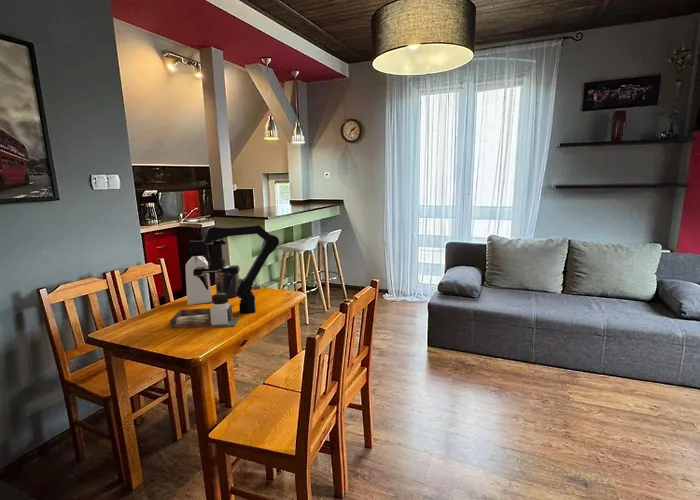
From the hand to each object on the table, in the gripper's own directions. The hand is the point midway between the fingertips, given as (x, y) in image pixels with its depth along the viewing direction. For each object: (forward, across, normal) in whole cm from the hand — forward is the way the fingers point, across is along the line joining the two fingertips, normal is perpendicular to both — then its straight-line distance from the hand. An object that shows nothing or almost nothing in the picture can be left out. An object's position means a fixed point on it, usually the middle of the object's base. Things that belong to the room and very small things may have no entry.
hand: (218, 289), depth 166 cm
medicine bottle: (+12, -3, +11) cm, 16 cm away
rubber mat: (+12, -4, +11) cm, 17 cm away
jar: (+12, +2, -32) cm, 34 cm away
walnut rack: (+12, +9, +5) cm, 16 cm away
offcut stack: (+12, +9, +10) cm, 19 cm away
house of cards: (+13, -11, -44) cm, 47 cm away
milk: (+12, +15, -25) cm, 32 cm away
